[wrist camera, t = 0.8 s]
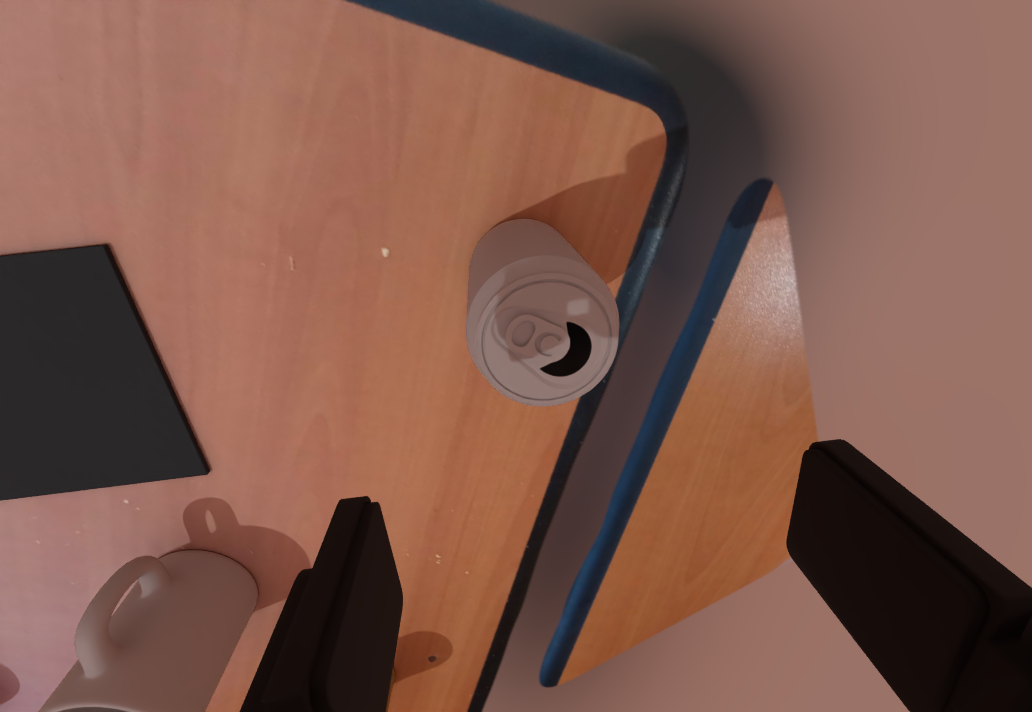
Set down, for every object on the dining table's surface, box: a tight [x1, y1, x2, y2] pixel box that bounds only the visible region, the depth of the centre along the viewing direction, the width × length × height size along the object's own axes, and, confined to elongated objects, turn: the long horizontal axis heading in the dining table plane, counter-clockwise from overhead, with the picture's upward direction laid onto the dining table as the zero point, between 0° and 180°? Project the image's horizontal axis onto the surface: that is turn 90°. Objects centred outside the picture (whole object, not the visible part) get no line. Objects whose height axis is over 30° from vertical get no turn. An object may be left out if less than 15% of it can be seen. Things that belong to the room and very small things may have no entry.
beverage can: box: [466, 219, 619, 406], centre depth 24 cm, size 6×6×12 cm
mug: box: [39, 550, 258, 712], centre depth 32 cm, size 12×8×11 cm
